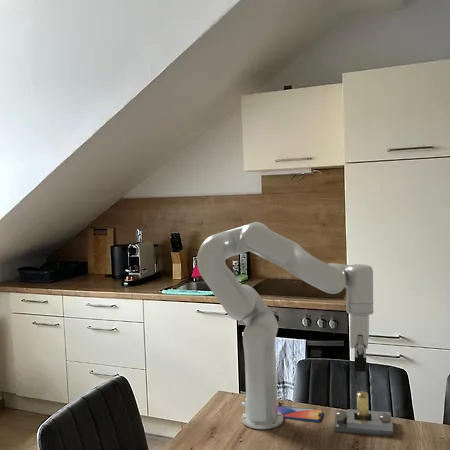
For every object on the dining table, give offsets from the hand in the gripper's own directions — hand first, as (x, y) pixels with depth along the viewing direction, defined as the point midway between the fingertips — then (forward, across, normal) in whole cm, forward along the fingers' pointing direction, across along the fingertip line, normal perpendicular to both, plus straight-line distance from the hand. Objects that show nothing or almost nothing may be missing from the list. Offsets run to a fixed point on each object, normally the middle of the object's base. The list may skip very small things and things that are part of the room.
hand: (360, 365), depth 144 cm
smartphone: (+19, -4, -19) cm, 27 cm away
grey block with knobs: (+18, 0, +1) cm, 18 cm away
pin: (+18, 0, +1) cm, 18 cm away
